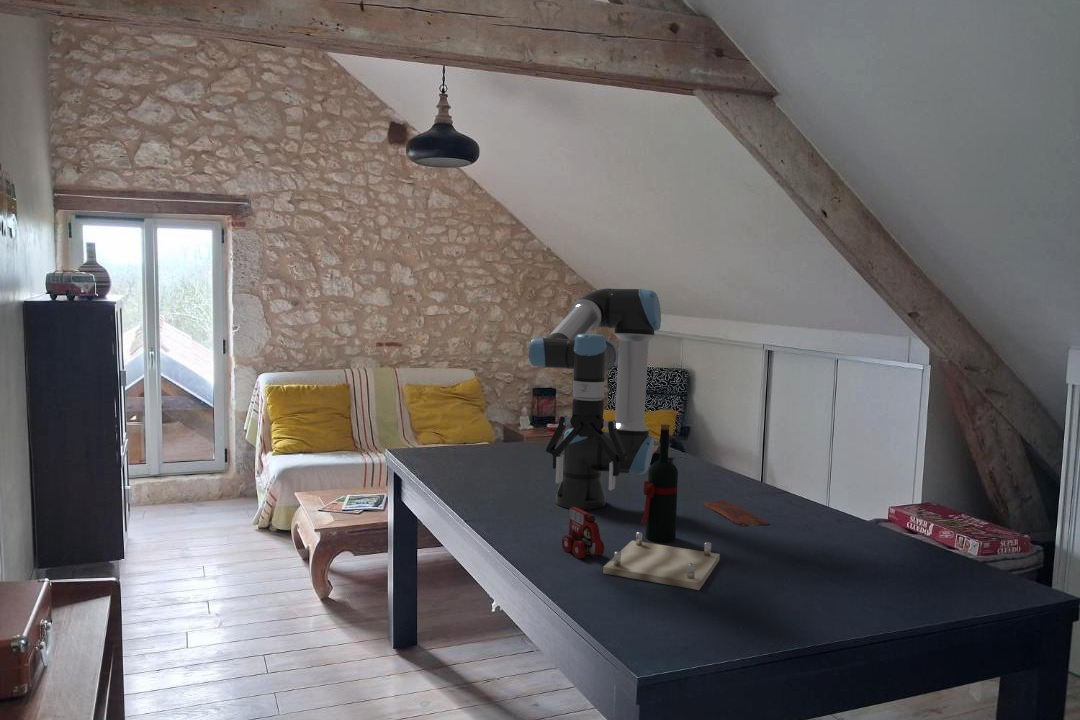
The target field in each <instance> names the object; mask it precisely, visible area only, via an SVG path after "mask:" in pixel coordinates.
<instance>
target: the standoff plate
mask: <svg viewBox="0 0 1080 720" xmlns="http://www.w3.org/2000/svg"><path fill="white" fill-rule="evenodd" d="M703 544H704V545H703V547H704V548H703V551H702V550H696V549H691V548H683V547H677V546H670V545H664V544H660V543H659V544H658V543H652V542H651V543H650V542H644V541H643V532H642V531H636V532H635V540H631V541H630V542H629V543H628V544H626V546H624V547H623V548H622V549H621V550H620V551H614V552H613V557H612V558H611V559H610V560H609V561H608V562H607V563H606V564H605V565H604V566H603V569H602V574H605V575H612V576H616V577H623V578H629V579H634V580H640V581H646V582H651V583H657V584H662V585H668V586H673V587H674V586H675V587H680V588H686V589H691V590H697V591H700V589H701V588H702V586H704V584H705V583H706V581H707V579H708V578H709V576H710V575H711V573H712V572H713V570H714V569H715V567H716V566H717V564H718V563H719V562H720V560H721V559H720V555H721V554H720V553H715V552H711V551H712V542H708V541H705V542H704V543H703Z"/></svg>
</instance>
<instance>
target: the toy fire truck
mask: <svg viewBox="0 0 1080 720" xmlns="http://www.w3.org/2000/svg"><path fill="white" fill-rule="evenodd" d="M568 511H569V512H568V518H569V523H568V525H569V526H568V528H569V529H568V534H567V535H563V537H562V539H561V547H562V549H563V551H565V552H566V553H571V552H572V554H573V556H574V557H575V558H576V559H579V560H580V559H584V558H585V557H586V555H587V554H588V555H589V554H590V555H593V556H601V555H603V554H604V552H605V545H604V542H603V540H602V539H601V534H600V529H599V525H598V523H597V522H595V521H596V515H594V514H593V513H589V512H587V511H585V510H583V509H579V508H577V507H571V508H569V510H568Z"/></svg>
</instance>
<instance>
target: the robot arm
mask: <svg viewBox="0 0 1080 720" xmlns="http://www.w3.org/2000/svg"><path fill="white" fill-rule="evenodd" d="M661 316H662V311H661V304H660V300H659V296H658V294H657V292H655V291H654V290H651V289H645V288H644V289H642V288H608V287H606V288H601V289H600V288H599V289H597V290H593V291H592V292H588V293H587V294H585V295H583V296H581V297H580V298H578V300H576V301H575V302H574V303H573V304H572V305H571V307H570V310H569V314H567V316H565V318H563V319H562V321H561V322H560V323H559V324H558V325H557V326H556V327H555V328H554V329H553V330H552V332H551V333H549V335H548V336H547V337H534V338H532V339H531V341H530V343H529V345H528V361H529V363H530V365H531V366H533V367H538V368H542V369H543V368H544V369H546V368H548V369H549V368H550V369H566V370H568V369H569V370H573V377H572V378H573V382H572V383H573V385H572V396H573V397H574V398H573V399H572V401H571V402H572V406H571V410H572V412H571V417H568V416H567V415H563V416H560V417H559V419H558V425H557V427H556V429H555V431H554V433H553V434H552V436H551V439H550V440H549V442H548V444H547V447H546V448H545V452H546V453H547V454H548V453H549V454H551V455H552V469H555V484H558V485H559V486H558V488H557V491H556V494H555V503H556V505H558V506H560V507H562V508H566V509H570V508H571V507H577V508H579V509H581V510H583V511H585V510H597V509H600V508H604V507H606V504H607V495H606V491H605V488H604V485H603V482H602V472H604V473H605V472H606V473H608V491H613V490H614V489H616V477H618V476H619V475H620V474H626V475H636V476H637V475H640V476H642V475H644V474H646V473H647V472H648V471H649V469H650V466H651V464H650V462H651V459H652V454H653V449H654V446H655V437H654V436H653V435H651V434H649V433H650V428H649V427H648V426H647V425H646V424H645V413H646V411H645V410H646V394H647V393H646V391H647V379H648V377H647V375H648V358H649V356H648V355H649V343H650V341H651V340H652V339H653V338H654V337H655V331H659V330H660V329H661V323H662V317H661ZM598 328H608V329H614V336H615V337H616V338H617V339H618V348H617V347H616V345H615V344H614V343H613V342H611V341H609V340H607V339H606V336H605V335H603V334H600V333H599V334H597V333H596V334H595V333H594V334H593V333H589V332H591V331H594V330H596V329H598ZM616 363H617V377H616V378H617V379H616V391H615V392H616V394H615V396H616V397H615V411H614V419H612V420H605V419H604V409H605V407H604V405H605V401H604V400H603V398H604V397H605V380H606V379H605V378H606V377H605V376H606V371H608V370H610V369H611V368H613V366H615V365H616ZM568 425H571V427H570V428H568V429H566V428H567V426H568ZM604 427H605V428H606V430H608V431H604ZM565 429H566V430H565ZM563 433H564V434H563ZM562 435H563V440H562V442H560V443H559V441H560V439H561V437H562ZM558 443H559V444H558ZM557 445H558V446H557Z"/></svg>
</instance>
